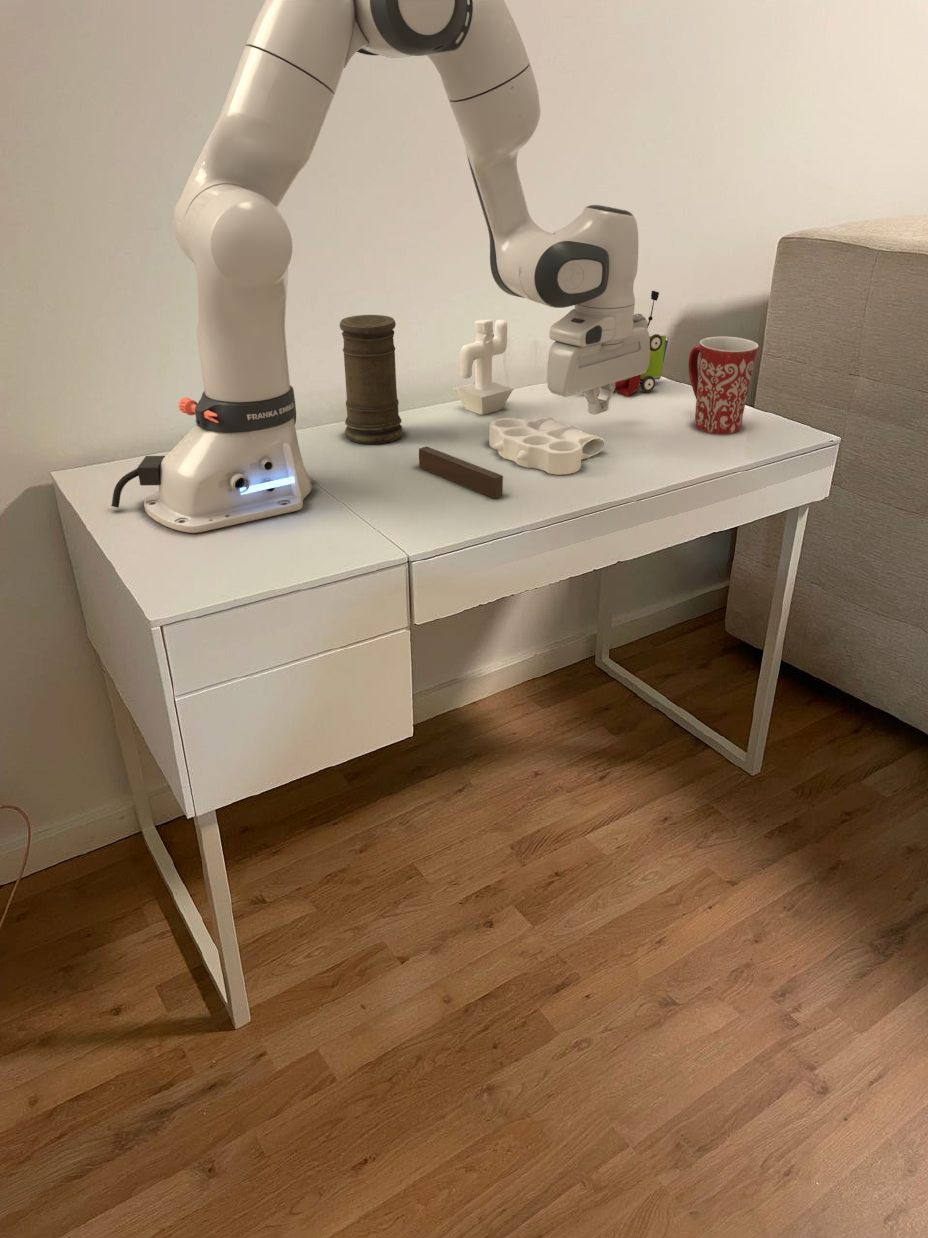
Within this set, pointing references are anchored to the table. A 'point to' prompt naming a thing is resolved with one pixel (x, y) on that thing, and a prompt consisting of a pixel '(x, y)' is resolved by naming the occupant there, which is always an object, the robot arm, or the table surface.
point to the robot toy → (655, 366)
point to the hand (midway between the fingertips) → (597, 412)
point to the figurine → (483, 369)
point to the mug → (721, 382)
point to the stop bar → (461, 472)
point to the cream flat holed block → (543, 444)
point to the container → (370, 379)
